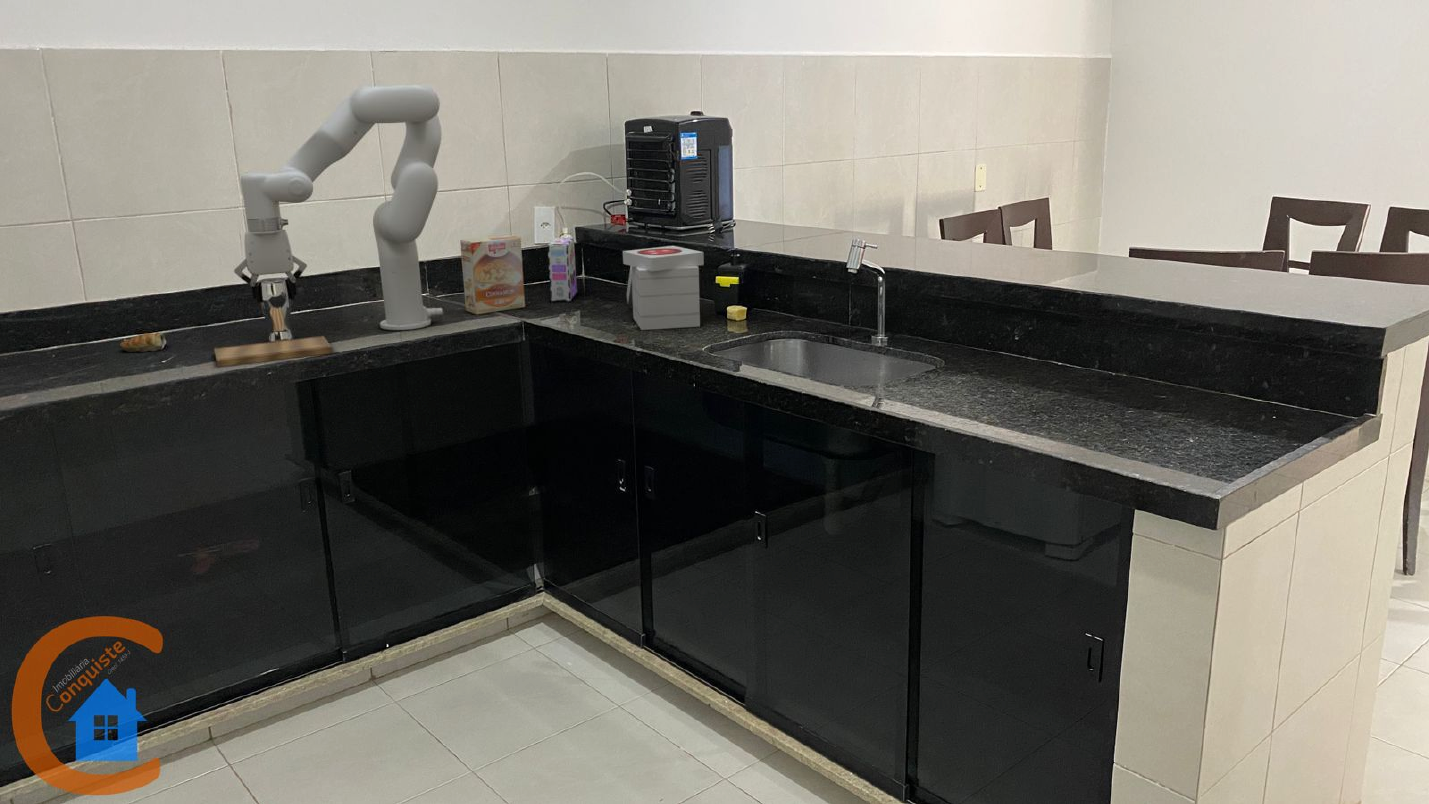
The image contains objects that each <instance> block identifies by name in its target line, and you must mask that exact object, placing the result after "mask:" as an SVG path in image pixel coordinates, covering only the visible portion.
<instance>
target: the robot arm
mask: <svg viewBox="0 0 1429 804" xmlns="http://www.w3.org/2000/svg"><path fill="white" fill-rule="evenodd" d="M440 104H441V102H440V98H439V96H438V94H437V93H436V91H435V90H434V89H432V88H431V87H429V86H428V85H426V84H409V85H408V84H407V85H388V86H387V85H365V86H359V87H357V88H355V89H353V90H352V91H351V92H350V93H349V94H348V95H347V97H346V98H345V99H344V100H343V101H342V102H341V103H340V104H339V106H337V108H336V109H335V110H333V112H332V113H331V115H329V117H328V118H327V119H325V121H324V122H323V123H322V124H321V125H320V126H319V127H318V128H317V130H316V131H315V132H313V134H311V136H310V137H309V138H308V139H307V140H306V141H305V142H304V143H303V144H302V145H301V146H300V147H299V148H298V149H297V150H296V151H295V152H294V153H293V155H292V156H290V158H289V159H288V160H287V161H286V162H285V163H284V164H283V166H281V168H279V170H278V171H277V172H276V173H275V172H274V173H272V172H269V171H252V172H251V171H249V172H245V173H243V174H242V175H241V176H240V186H241V187H240V188H241V193H242V200H243V206H244V207H243V208H244V213H245V219H246V227H247V231H246V232H244V255H245V258H244V259H243V261H241V262H240V263H239V264H238V265H237V266H236V267H235V268H234V269H233V272H234V273H235V275H237V276H238V277H239V278H240V279H241V280H242V281H244V282H245V283H247V284H248V285H249V286H250V288H251V294H252V300H255V301H256V304H260V295H259V288H258V280H259V279H258V278H259V277H260V276H264V275H265V276H266V275H275V274H285V275H286V277H287V279H288V285H289V290H290V295H291V300H295V296H297V294H298V292H297V287H296V282H297V281H298V279H299V278H300V277H301V276H302V275H303V273H304V271H305V270H306V269H307V267H308V264H307V263H306V262H304V261H303V260H301V259H299V258H298V257H296V256H295V255H293V252H292V247H291V244H290V240H289V235H288V233H287V230H286V229H283V227H285V226H289V219H285V218H283V217H282V216H281V208H280V203H290V204H291V203H293V204H298V203H303V202H306V201H308V200H309V199H310V197H311V196H312V195H313V192H314V182H315V180H316V179H317V178H318V177H319V176H320V175H321V174H322V173H323V172H324V171H326V169H328V168H329V167H330V166H332V165H333V164H334V163H336V162H339V161H340V160H342V159H343V158H345V157H346V156H347V155H349V154H350V153H351V152H352V150H353V149H354V148H355V147H356V146H357V145H358V143H360V141H361V140H362V139H363V138H364V137H365V136H366V135H367V133H369V131H370V130H371V129H372V128H373V127H374V126H375V125H376V124H401V123H402V124H403V123H404V125H405V135H404V139H403V140H404V141H403V144H402V147H401V149H400V152H399V154H398V157H397V160H396V163H395V165H394V167H393V169H392V172H391V175H390V185H391V187H392V189H393V193H392V197H391V199H390V200H387V201H384V202H381V203H380V205H378V206H377V208H376V209H375V211H374V213H373V216H372V217H373V218H372V225H373V226H372V227H373V232H374V236H375V237H374V238H375V241H376V247H377V254H378V261H379V271H380V272H379V273H380V279H381V281H380V282H381V288H382V290H381V291H382V298H383V306H384V307H383V308H384V314H385V319H384V320H381V321H380V322H379V328H381V329H383V330H387V331H408V330H416V329H421V328H425V327H428V326H430V325H431V324H432V319H431V317H433V316H434V317H438V316H443V315H444V310H443V308H442V307H426V306H425V305H424V301H423V291H422V280H421V272H420V260H419V253H418V246H417V239H419V237H420V235H421V234H422V233H423V230H424V228H425V226H426V223H427V220H428V219H429V216H430V213H431V210H432V208H433V205H434V203H435V199H436V196H437V193H438V188H439V179H438V175H437V173H436V171H435V169H434V167H435V164H436V161H437V157H438V154H439V151H440V148H441V143H442V126H441V122H440V119H439V116H438V113H439V111H440V106H441V105H440ZM294 264H296V265H298V268H297V269H296V270H295V271H294V272H293V270H294V268H295V267H294V266H295V265H294ZM246 268H247V271H248V272H249V273H250V275H251V276H250V277H249V276H248V275H247V274H245V272H243V270H245V269H246ZM292 272H293V273H292Z"/></svg>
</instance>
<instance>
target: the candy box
mask: <svg viewBox="0 0 1429 804" xmlns="http://www.w3.org/2000/svg"><path fill="white" fill-rule="evenodd" d="M575 251H576V250H575V238H574V237H555V238H554V239H553V240H551V241H550V242H549V243H548V244H547V259H548V261H547V262H548V274H549V277H548V278H549V292H550V302H571V301H572V299H574V297H575V296H576V294H578V284H577V269H576V268H577V267H576V252H575Z"/></svg>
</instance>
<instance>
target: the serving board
mask: <svg viewBox="0 0 1429 804" xmlns="http://www.w3.org/2000/svg"><path fill="white" fill-rule="evenodd" d="M332 348H333V347H332V345H331V344H330V343H329V341H328V340H327V338H325V336H324V335H320V336H312V337H311V336H309V337H302V338H295V339H293V340H284V341H275V342H268V341H267V342H259V343H250V344H241V345H233V346H225V347H218V348H217V347H216V348H215V347H214V348H213V351H214V356H215V360H216V364H217V368H220V367H221V368H223V367H229V366H237V365H238V366H239V365H245V364H254V363H262V362H270V361H278V360H279V361H280V360H288V359H294V358H295V359H296V358H304V357H311V356H312V357H313V356H319V355H329V354H333V349H332Z"/></svg>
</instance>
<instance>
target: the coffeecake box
mask: <svg viewBox="0 0 1429 804" xmlns="http://www.w3.org/2000/svg"><path fill="white" fill-rule="evenodd" d="M521 238H522V237H521V236H517V235H512V234H507V235H496V236H487V237H477V238H469V239H460V240H459V241H460V242H459V243H460V255H461V266H462V280H463V289H464V291H463V292H464V303H465V311H466V312H469V313H472V314H474V315H483V314H489V313H496V312H503V311H509V310H515V309H522V308H526V300H525V299H526V297H525V285H524V284H525V283H524V282H525V281H524V271H523V270H524V269H523V255H522V253H523V252H522V240H521Z"/></svg>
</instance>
